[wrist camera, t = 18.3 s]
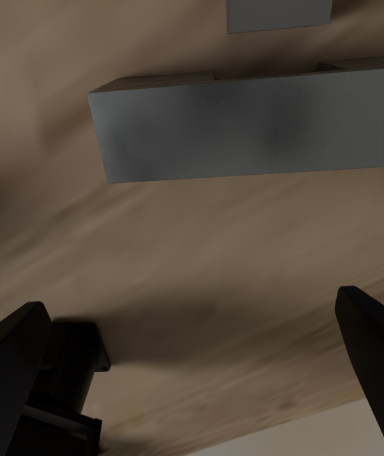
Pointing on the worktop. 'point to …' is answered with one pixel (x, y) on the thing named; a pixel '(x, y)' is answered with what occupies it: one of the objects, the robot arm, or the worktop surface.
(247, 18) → the plug
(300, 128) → the housing
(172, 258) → the worktop surface
